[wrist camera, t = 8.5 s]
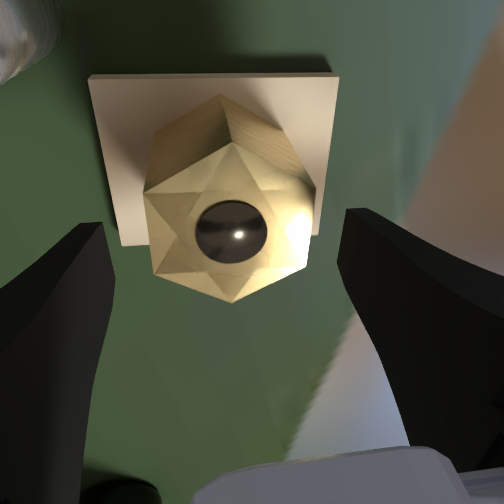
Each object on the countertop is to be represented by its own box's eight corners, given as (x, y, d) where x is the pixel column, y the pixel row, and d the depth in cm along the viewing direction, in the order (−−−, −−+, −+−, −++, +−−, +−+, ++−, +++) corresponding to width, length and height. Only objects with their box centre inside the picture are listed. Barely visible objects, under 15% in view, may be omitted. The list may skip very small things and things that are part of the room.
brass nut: (276, 224, 18) (301, 300, 14) (165, 229, 18) (158, 309, 14) (287, 93, 15) (324, 142, 11) (150, 92, 14) (135, 144, 10)
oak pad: (313, 226, 20) (317, 234, 19) (124, 236, 19) (122, 246, 18) (333, 72, 16) (339, 76, 15) (91, 74, 14) (87, 79, 14)
